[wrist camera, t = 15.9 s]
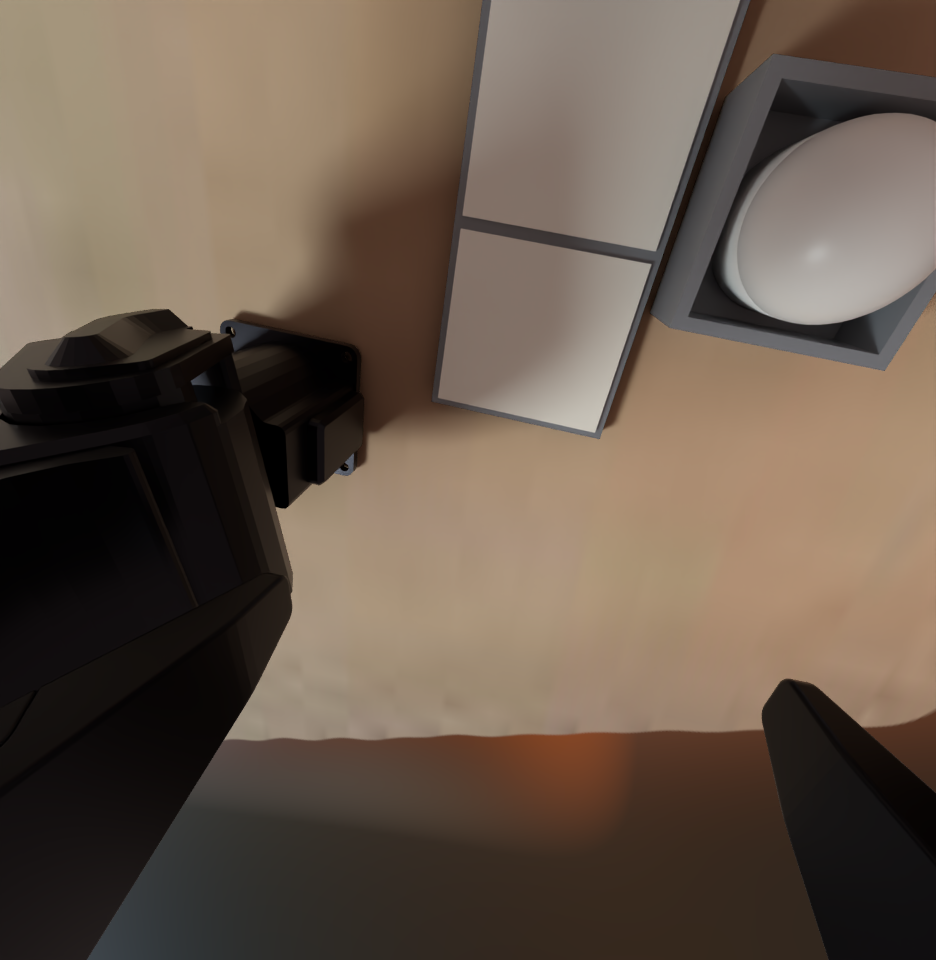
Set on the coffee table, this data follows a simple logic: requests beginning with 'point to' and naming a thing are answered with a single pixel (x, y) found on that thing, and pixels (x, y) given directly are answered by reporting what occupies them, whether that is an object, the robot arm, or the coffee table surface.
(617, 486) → the coffee table surface
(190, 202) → the coffee table surface
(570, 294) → the game board
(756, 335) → the dome base
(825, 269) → the dome
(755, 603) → the coffee table surface
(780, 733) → the robot arm
